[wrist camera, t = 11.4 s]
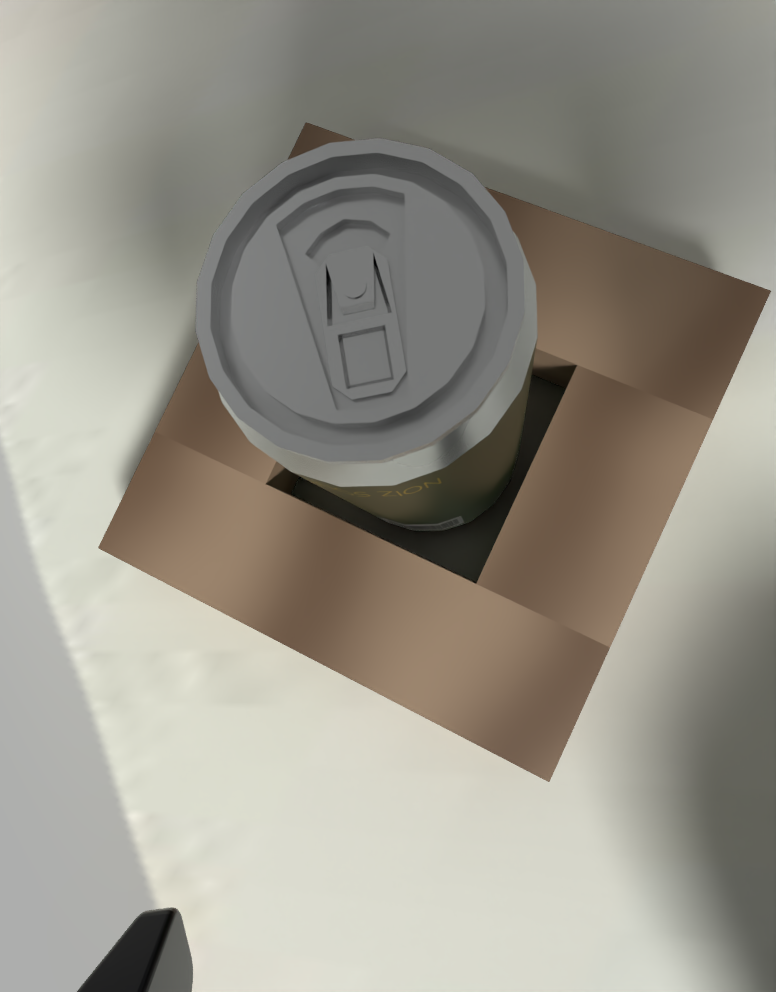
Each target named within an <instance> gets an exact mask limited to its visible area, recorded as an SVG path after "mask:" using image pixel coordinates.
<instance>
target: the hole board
mask: <svg viewBox="0 0 776 992" xmlns="http://www.w3.org/2000/svg"><path fill="white" fill-rule="evenodd" d="M344 141H354V139H351V138H348V137H345V136H343V135H340V134H337V133H334V132H332V131H329V130H326V129H323V128H321V127H318V126H315V125H312V124H310V123H307V122H306V123H305V125H304V127H303V129H302V131H301V133H300V135H299V137H298V140H297V142H296V144H295V146H294V148H293V150H292V152H291V154H290V156H289V158H288V160H289V159H291V158H294V157H296V156H299V155H301V154H304V153H306V152H308V151H311V150H313V149H316V148H318V147H321V146H323V145H326V144H328V143H333V142H344ZM485 189H486V190H487V191H488V192H489V193H490V194H491V196H492V197H493V198H494V199H495V200H496V201H497V203H498V204H499V205H500V206H501V207H502V208H503V210H504V211H505V213H506V215H507V218H508V220H509V223H510V226H511V228H512V231H513V232H514V233H515V234H516V235H517V237H518V239H519V242H520V244H521V247H522V249H523V252H524V255H525V257H526V260H527V262H528V265H529V268H530V270H531V273H532V275H533V278H534V281H535V283H536V300H537V333H538V338H537V344H536V350H535V356H534V363H533V369H532V375H535V376H537V377H540V378H542V379H544V380H547V381H549V382H552V383H554V384H557V385H559V386H562V387H564V388H566V390H565V393H564V395H563V397H562V399H561V401H560V403H559V406H558V408H557V410H556V412H555V414H554V416H553V419H552V421H551V423H550V425H549V427H548V429H547V432H546V434H545V436H544V438H543V440H542V442H541V445H540V447H539V449H538V451H537V453H536V455H535V458H534V460H533V462H532V464H531V466H530V468H529V471H528V473H527V475H526V477H525V479H524V481H523V484H522V486H521V488H520V490H519V492H518V494H517V496H516V499H515V501H514V503H513V505H512V507H511V509H510V512H509V514H508V516H507V518H506V520H505V522H504V525H503V527H502V529H501V531H500V533H499V535H498V538H497V540H496V542H495V544H494V546H493V548H492V551H491V553H490V555H489V557H488V559H487V561H486V564H485V566H484V568H483V570H482V572H481V574H480V577H479V579H478V581H477V583H476V582H474V581H472V580H470V579H468V578H466V577H464V576H461V575H459V574H457V573H455V572H453V571H451V570H449V569H447V568H445V567H442V566H440V565H438V564H436V563H434V562H432V561H430V560H428V559H426V558H423V557H421V556H419V555H417V554H415V553H413V552H411V551H409V550H407V549H404V548H402V547H400V546H398V545H396V544H394V543H392V542H390V541H388V540H385V539H383V538H381V537H379V536H377V535H375V534H373V533H371V532H369V531H366V530H364V529H362V528H360V527H358V526H356V525H354V524H352V523H350V522H347V521H345V520H343V519H341V518H339V517H337V516H335V515H333V514H331V513H328V512H326V511H324V510H322V509H320V508H318V507H316V506H314V505H312V504H310V503H307V502H305V501H303V500H301V499H299V498H297V497H295V496H293V495H291V492H292V490H293V488H294V486H295V484H296V482H297V480H298V478H299V476H298V475H296V474H294V473H293V472H291V471H289V470H288V469H287V468H285V467H284V466H282V465H281V464H280V463H278V462H277V461H275V460H274V459H273V458H271V457H270V456H269V455H267V454H266V453H264V452H263V451H262V450H260V449H259V448H257V447H256V446H255V445H253V444H252V443H250V441H249V440H248V438H247V437H246V436H245V434H244V433H243V431H242V430H241V429H240V427H239V426H238V424H237V423H236V422H235V420H234V419H233V417H232V416H231V414H230V413H229V412H228V410H227V409H226V407H225V406H224V405H223V403H222V401H221V398H220V394H219V391H218V389H217V388H216V387H215V385H214V384H213V382H212V381H211V380H210V378H209V375H208V372H207V368H206V365H205V361H204V358H203V355H202V351H201V348H200V345H199V342H198V344H197V346H196V348H195V351H194V353H193V355H192V357H191V359H190V361H189V363H188V365H187V367H186V369H185V371H184V373H183V375H182V377H181V379H180V381H179V383H178V385H177V387H176V389H175V392H174V394H173V396H172V398H171V400H170V402H169V404H168V406H167V408H166V410H165V412H164V414H163V416H162V418H161V420H160V422H159V424H158V426H157V428H156V430H155V432H154V435H153V437H152V439H151V441H150V443H149V445H148V447H147V449H146V451H145V453H144V455H143V457H142V459H141V461H140V463H139V465H138V467H137V469H136V471H135V473H134V476H133V478H132V480H131V482H130V484H129V486H128V488H127V490H126V492H125V494H124V496H123V498H122V500H121V502H120V504H119V506H118V508H117V510H116V512H115V514H114V516H113V519H112V521H111V523H110V525H109V527H108V529H107V531H106V533H105V535H104V537H103V539H102V541H101V543H100V545H99V547H98V548H99V549H101V550H103V551H105V552H107V553H109V554H111V555H113V556H114V557H116V558H118V559H120V560H122V561H124V562H126V563H128V564H130V565H132V566H134V567H136V568H138V569H139V570H141V571H143V572H145V573H147V574H149V575H151V576H153V577H155V578H157V579H159V580H161V581H163V582H165V583H166V584H168V585H170V586H172V587H174V588H176V589H178V590H180V591H182V592H184V593H186V594H188V595H190V596H192V597H193V598H195V599H197V600H199V601H201V602H203V603H205V604H207V605H209V606H211V607H213V608H215V609H217V610H218V611H220V612H222V613H224V614H226V615H228V616H230V617H232V618H234V619H236V620H238V621H240V622H242V623H244V624H245V625H247V626H249V627H251V628H253V629H255V630H257V631H259V632H261V633H263V634H265V635H267V636H269V637H270V638H272V639H274V640H276V641H278V642H280V643H282V644H284V645H286V646H288V647H290V648H292V649H294V650H296V651H297V652H299V653H301V654H303V655H305V656H307V657H309V658H311V659H313V660H315V661H317V662H319V663H321V664H323V665H324V666H326V667H328V668H330V669H332V670H334V671H336V672H338V673H340V674H342V675H344V676H346V677H348V678H349V679H351V680H353V681H355V682H357V683H359V684H361V685H363V686H365V687H367V688H369V689H371V690H373V691H375V692H376V693H378V694H380V695H382V696H384V697H386V698H388V699H390V700H392V701H394V702H396V703H398V704H400V705H402V706H403V707H405V708H407V709H409V710H411V711H413V712H415V713H417V714H419V715H421V716H423V717H425V718H427V719H428V720H430V721H432V722H434V723H436V724H438V725H440V726H442V727H444V728H446V729H448V730H450V731H452V732H454V733H455V734H457V735H459V736H461V737H463V738H465V739H467V740H469V741H471V742H473V743H475V744H477V745H479V746H480V747H482V748H484V749H486V750H488V751H490V752H492V753H494V754H496V755H498V756H500V757H502V758H504V759H506V760H507V761H509V762H511V763H513V764H515V765H517V766H519V767H521V768H523V769H525V770H527V771H529V772H531V773H533V774H534V775H536V776H538V777H540V778H542V779H544V780H546V781H548V782H549V781H550V779H551V777H552V775H553V772H554V770H555V768H556V766H557V764H558V761H559V759H560V757H561V755H562V752H563V750H564V748H565V746H566V744H567V741H568V739H569V737H570V735H571V733H572V730H573V728H574V726H575V724H576V721H577V719H578V717H579V715H580V713H581V710H582V708H583V706H584V704H585V702H586V699H587V697H588V695H589V693H590V690H591V688H592V686H593V684H594V682H595V679H596V677H597V675H598V673H599V671H600V668H601V666H602V664H603V662H604V660H605V657H606V655H607V653H608V651H609V648H610V646H611V644H612V642H613V640H614V637H615V635H616V633H617V631H618V629H619V626H620V624H621V622H622V620H623V617H624V615H625V613H626V611H627V609H628V606H629V604H630V602H631V600H632V598H633V595H634V593H635V591H636V589H637V586H638V584H639V582H640V580H641V578H642V575H643V573H644V571H645V569H646V567H647V564H648V562H649V560H650V558H651V555H652V553H653V551H654V549H655V547H656V544H657V542H658V540H659V538H660V536H661V533H662V531H663V529H664V527H665V524H666V522H667V520H668V518H669V516H670V513H671V511H672V509H673V507H674V505H675V502H676V500H677V498H678V496H679V493H680V491H681V489H682V487H683V485H684V482H685V480H686V478H687V476H688V474H689V471H690V469H691V467H692V465H693V462H694V460H695V458H696V456H697V454H698V451H699V449H700V447H701V445H702V443H703V440H704V438H705V436H706V434H707V431H708V429H709V427H710V425H711V423H712V420H713V418H714V416H715V414H716V412H717V409H718V407H719V405H720V403H721V400H722V398H723V396H724V394H725V392H726V389H727V387H728V385H729V383H730V381H731V378H732V376H733V374H734V372H735V369H736V367H737V365H738V363H739V361H740V358H741V356H742V354H743V352H744V350H745V347H746V345H747V343H748V341H749V338H750V336H751V334H752V332H753V330H754V327H755V325H756V323H757V321H758V319H759V316H760V314H761V312H762V310H763V307H764V305H765V303H766V301H767V299H768V296H769V294H770V292H771V291H770V290H767V289H764V288H762V287H759V286H756V285H753V284H751V283H748V282H745V281H742V280H740V279H737V278H734V277H731V276H729V275H726V274H723V273H720V272H718V271H715V270H712V269H709V268H707V267H704V266H701V265H698V264H696V263H693V262H690V261H687V260H684V259H682V258H679V257H676V256H673V255H671V254H668V253H665V252H662V251H660V250H657V249H654V248H651V247H649V246H646V245H643V244H640V243H638V242H635V241H632V240H629V239H627V238H624V237H621V236H618V235H616V234H613V233H610V232H607V231H605V230H602V229H599V228H596V227H593V226H591V225H588V224H585V223H582V222H580V221H577V220H574V219H571V218H569V217H566V216H563V215H560V214H558V213H555V212H552V211H549V210H547V209H544V208H541V207H538V206H536V205H533V204H530V203H527V202H525V201H522V200H519V199H516V198H514V197H511V196H508V195H505V194H503V193H500V192H497V191H494V190H491V189H489V188H486V187H485Z"/></svg>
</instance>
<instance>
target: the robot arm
mask: <svg viewBox="0 0 776 992" xmlns="http://www.w3.org/2000/svg"><path fill="white" fill-rule="evenodd" d="M192 982H193V964H192V957H191V953H190V949H189V945H188V941H187V937H186V933H185V929H184V924H183V920H182V917H181V914H180V912H179V911H178V909H176V908H164V909H156V910H149V911H145V912H143V913H141V914H140V915H139V916H138V917H137V918H136V919H135V920H134V922H133V923H132V924H131V925H130V926H129V928H128V929H127V930H126V931H125V933H124V934H123V935H122V937H121V938H120V939H119V940H118V942H117V943H116V944H115V945H114V946H113V948H112V949H111V950H110V951H109V953H108V954H107V955H106V956H105V958H104V959H103V960H102V961H101V963H100V964H99V965H98V966H97V967H96V969H95V970H94V971H93V973H92V974H91V975H90V976H89V977H88V979H87V980H86V981H85V983H84V984H83V985H82V986H81V987H80V989H79V990H78V991H77V992H192Z"/></svg>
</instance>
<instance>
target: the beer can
mask: <svg viewBox="0 0 776 992" xmlns="http://www.w3.org/2000/svg"><path fill="white" fill-rule="evenodd" d="M196 334H197V338H198V341H199V345H200V348H201V351H202V355H203V358H204V361H205V365H206V368H207V372H208V375H209V378H210V380H211V381H212V382H213V384H214V385H215V387H216V388H217V389H218V391H219V394H220V398H221V401H222V403H223V405H224V406H225V407H226V409H227V410H228V412H229V413H230V414H231V416H232V417H233V419H234V420H235V422H236V423H237V424H238V426H239V427H240V429H241V430H242V431H243V433H244V434H245V436H246V437H247V438H248V440H249V441H250V443H252V444H253V445H255V446H256V447H257V448H259V449H260V450H262V451H263V452H264V453H266V454H267V455H269V456H270V457H271V458H273V459H274V460H275V461H277V462H278V463H280V464H281V465H282V466H284V467H285V468H287V469H288V470H289V471H291V472H293V473H294V474H296V475H298V476H300V477H302V478H304V479H306V480H308V481H310V482H312V483H313V484H315V485H317V486H319V487H321V488H323V489H325V490H327V491H329V492H331V493H332V494H334V495H336V496H338V497H340V498H342V499H344V500H346V501H348V502H350V503H351V504H353V505H355V506H357V507H359V508H361V509H363V510H365V511H367V512H369V513H370V514H372V515H374V516H376V517H378V518H380V519H382V520H384V521H386V522H388V523H390V524H393V525H397V526H400V527H403V528H406V529H410V530H413V531H444V530H447V529H450V528H453V527H456V526H459V525H462V524H465V523H468V522H471V521H472V520H473V519H475V518H476V517H478V516H479V515H480V514H482V513H483V512H484V511H486V510H487V509H488V508H490V507H491V506H492V505H494V503H495V502H496V501H497V499H498V498H499V496H500V495H501V493H502V492H503V491H504V489H505V488H506V486H507V485H508V484H509V482H510V480H511V477H512V474H513V471H514V467H515V464H516V461H517V458H518V454H519V449H520V442H521V436H522V430H523V424H524V418H525V412H526V406H527V399H528V393H529V387H530V381H531V375H532V369H533V363H534V356H535V350H536V344H537V338H538V333H537V300H536V283H535V281H534V278H533V275H532V273H531V270H530V268H529V265H528V262H527V260H526V257H525V255H524V252H523V249H522V247H521V244H520V242H519V239H518V237H517V235H516V234H515V233H514V232H513V231H512V228H511V226H510V223H509V220H508V218H507V215H506V213H505V211H504V210H503V208H502V207H501V206H500V205H499V204H498V203H497V201H496V200H495V199H494V198H493V197H492V196H491V194H490V193H489V192H488V191H487V190H486V189H485V187H484V186H483V185H482V184H481V183H480V182H479V180H478V179H477V178H476V177H475V176H474V175H473V173H471V172H469V171H468V170H466V169H464V168H462V167H461V166H459V165H457V164H455V163H454V162H452V161H450V160H449V159H447V158H445V157H443V156H442V155H440V154H438V153H437V152H435V151H433V150H431V149H430V148H426V147H421V146H416V145H411V144H407V143H402V142H397V141H392V140H388V139H383V138H374V139H364V140H354V141H344V142H333V143H328V144H326V145H323V146H321V147H318V148H316V149H313V150H311V151H308V152H306V153H304V154H301V155H299V156H296V157H294V158H291V159H289V160H286V161H284V162H282V163H281V164H279V165H278V166H277V167H276V168H274V169H273V170H272V171H271V172H269V173H268V174H267V175H266V176H264V177H263V178H262V179H260V180H259V181H258V182H257V183H255V184H254V185H253V186H252V187H250V188H249V189H248V190H247V191H245V192H244V193H243V194H242V195H241V196H240V198H239V199H238V201H237V202H236V203H235V205H234V206H233V208H232V209H231V211H230V212H229V213H228V215H227V216H226V218H225V219H224V220H223V222H222V223H221V225H220V226H219V227H218V229H217V230H216V232H215V233H214V234H213V237H212V240H211V243H210V245H209V248H208V251H207V254H206V257H205V260H204V263H203V266H202V269H201V272H200V275H199V278H198V280H197V298H196Z"/></svg>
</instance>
